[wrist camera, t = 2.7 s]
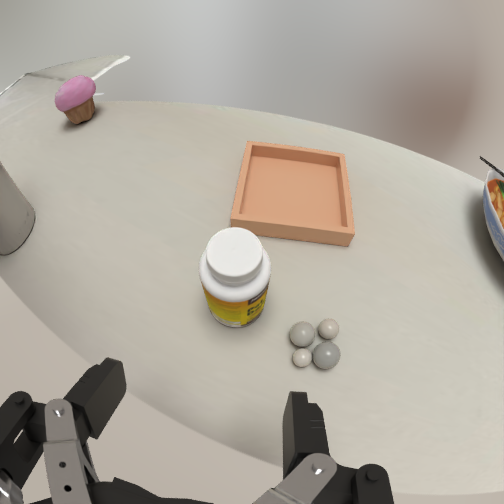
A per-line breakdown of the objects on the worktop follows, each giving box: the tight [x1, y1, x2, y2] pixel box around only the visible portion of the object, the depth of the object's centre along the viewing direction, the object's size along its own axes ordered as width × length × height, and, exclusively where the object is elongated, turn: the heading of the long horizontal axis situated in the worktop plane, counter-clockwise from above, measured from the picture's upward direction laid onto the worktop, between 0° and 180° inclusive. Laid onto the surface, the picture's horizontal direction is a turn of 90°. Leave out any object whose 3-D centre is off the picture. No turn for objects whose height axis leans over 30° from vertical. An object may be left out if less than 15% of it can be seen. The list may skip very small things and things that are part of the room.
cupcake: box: [55, 75, 96, 124], centre depth 42 cm, size 9×9×10 cm
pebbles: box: [290, 319, 340, 369], centre depth 25 cm, size 5×5×3 cm
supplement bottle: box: [199, 227, 271, 327], centre depth 24 cm, size 6×6×10 cm
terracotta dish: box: [231, 141, 355, 246], centre depth 35 cm, size 14×14×3 cm
